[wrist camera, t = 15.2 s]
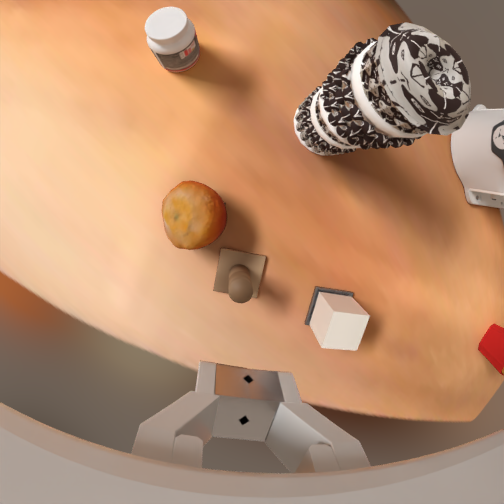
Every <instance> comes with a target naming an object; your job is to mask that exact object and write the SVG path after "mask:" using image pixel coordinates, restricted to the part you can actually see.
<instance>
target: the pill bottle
mask: <svg viewBox="0 0 504 504" xmlns="http://www.w3.org/2000/svg"><path fill="white" fill-rule="evenodd" d="M145 31H146V34H147V43H148V45H149V47H150V49H151V50H152V52H153V53H154V55H155V57H156V58H157V60H158V61H159V63H160V64H161V66H162V67H163V68H165V69H166V70H168V71H171V72H182V71H185V70H188V69H189V68H191V67H192V66H193V65H195V63H196V62H197V61H198V59H199V56H200V47H199V43H198V39H197V35H196V31H195V28H194V25H193V23H192V22H191V21H190V20H189V19H188V18H187V16H186V14H185V12H184V11H183V10H181V9H179V8H176V7H165V8H162V9H159V10H157V11H155V12H154V13H153V14H151V15H150V16H149V18H148V19H147V21H146V24H145Z"/></svg>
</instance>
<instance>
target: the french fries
mask: <svg viewBox="0 0 504 504" xmlns="http://www.w3.org/2000/svg"><path fill="white" fill-rule="evenodd" d="M478 350H479V351H480V352H481V353H482V354H483V355H484V356H485V357H486V358H487V359H488V360H489V361H490V363H491V364H492V365H493V366H494V367H495V368H496V369H497V370H498V371H499V373H500V374H502V375H504V328H502V327H500V326H498V325H496V324H493V325H492V326H490V328H489V329H488V331H487V332H486V334H485V335H484V337H483V339H482V340H481V342H480V343H479V347H478Z"/></svg>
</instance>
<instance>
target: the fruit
mask: <svg viewBox="0 0 504 504" xmlns="http://www.w3.org/2000/svg"><path fill="white" fill-rule="evenodd" d="M224 204H226V203H223V201H222V199H221V197H220V196H219V195H218V194H217V192H216V191H214V190H213V189H211V188H210V187H208V186H206V185H204V184H202V183H199V182H195V181H183V182H181V183H180V184H178V185H177V186H176V187H175V188H174V189H172V190H171V191H170V193H169V194H168V195H167V196H166V197H165V198H164V200H163V205H162V216H163V221H164V227H165V231H166V234H167V236H168V238H169V240H170V241H171V242H172V243H173V245H174V246H175V247H177V248H180V249H181V248H182V249H188V250H193V249H199V248H202V247H205V246H207V245H209V244H211V243H212V242H213V241H215V240H216V239H217V238H218V237H219V236H220V235H221V234H222V232H223V230H224V229H225V226H226V221H227V213H226V209H225V205H224Z"/></svg>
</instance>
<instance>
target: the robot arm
mask: <svg viewBox="0 0 504 504" xmlns="http://www.w3.org/2000/svg"><path fill="white" fill-rule="evenodd" d="M451 152H452V158H453V163H454V166H455V169H456V172H457V174H458V176H459V178H460V180H461V182H462V184H463V186H464V190H465V195H466V199H467V201H468V203H469V204H474V205H481V206H488V207H495V208H501V209H504V109H487V108H486V107H485V106H484V105H477V106H476V107H475V108H474V109H473V111H471V112H469V115H468V117H467V119H466V120H465V122H464V124H463V125H462V127H461V129H459V130H457V131H455V132H453V133H452V136H451ZM211 437H221V438H233V439H243V440H253V441H265V443H266V444H267V446H268V447H269V448H270V449H271V451H272V452H273V453H274V454H275V455H276V456H277V457H278V459H279V460H280V461H281V462H282V463H283V464H284V466H285V467H286V468H287V469H288V470H289V471H290V472H291V473H251V472H235V471H224V470H214V469H206V468H202V451H203V446H204V445H205V444H206V443H207V442H208V441H209V440H210V439H211ZM0 504H504V429H502V430H500V431H497V432H495V433H493V434H490V435H488V436H485V437H483V438H480V439H477V440H474V441H472V442H469V443H466V444H463V445H460V446H457V447H454V448H451V449H447V450H444V451H441V452H437V453H434V454H430V455H426V456H422V457H418V458H414V459H409V460H405V461H400V462H395V463H390V464H385V465H379V466H373V467H371V465H370V463H369V461H368V459H367V457H366V454H365V453H364V450H363V448H362V446H361V444H360V442H359V441H358V440H357V439H355V438H354V437H352V436H351V435H349V434H348V433H347V432H345V431H344V430H342V429H341V428H339V427H338V426H337V425H335V424H334V423H332V422H331V421H330V420H328V419H327V418H326V417H324V416H323V415H321V414H320V413H319V412H318V411H316V410H314V408H312V407H311V406H310V405H308V404H307V403H302V400H301V397H300V394H299V391H298V388H297V385H296V382H295V379H294V376H293V374H292V373H291V372H281V371H266V370H256V369H247V368H243V367H236V366H230V365H224V364H218V363H213V362H206V361H201V360H200V362H199V368H198V375H197V382H196V388H195V391H190V392H188V393H187V394H186V395H184V396H183V397H181V398H180V399H178V400H177V401H175V402H174V403H172V404H171V405H169V406H168V407H166V408H165V409H163V410H162V411H160V412H159V413H157V414H156V415H154V416H152V417H151V418H149V419H148V420H146V421H144V422H143V423H141V424H140V426H139V429H138V433H137V436H136V439H135V442H134V446H133V449H132V452H131V454H128V453H124V452H121V451H117V450H114V449H111V448H107V447H104V446H101V445H98V444H95V443H92V442H89V441H86V440H83V439H80V438H78V437H75V436H72V435H69V434H67V433H64V432H61V431H59V430H57V429H54V428H52V427H50V426H47V425H45V424H43V423H41V422H38V421H36V420H34V419H32V418H30V417H28V416H26V415H24V414H22V413H20V412H18V411H16V410H14V409H12V408H10V407H8V406H6V405H4V404H3V403H1V402H0Z"/></svg>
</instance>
